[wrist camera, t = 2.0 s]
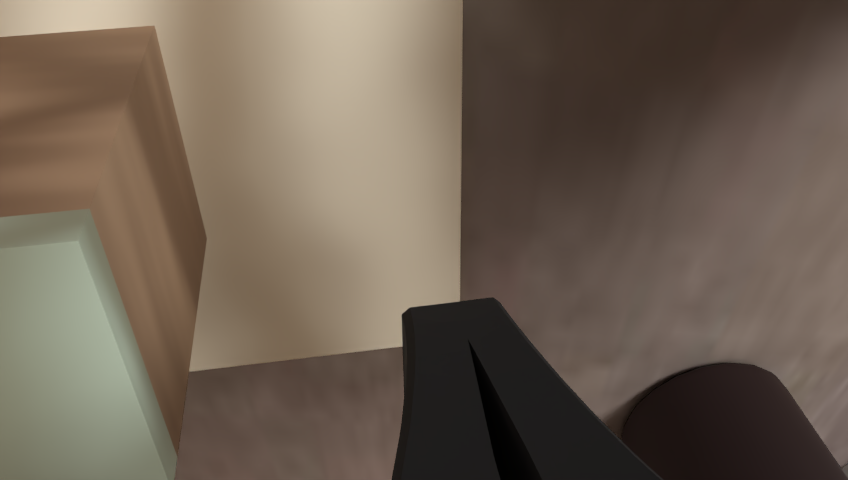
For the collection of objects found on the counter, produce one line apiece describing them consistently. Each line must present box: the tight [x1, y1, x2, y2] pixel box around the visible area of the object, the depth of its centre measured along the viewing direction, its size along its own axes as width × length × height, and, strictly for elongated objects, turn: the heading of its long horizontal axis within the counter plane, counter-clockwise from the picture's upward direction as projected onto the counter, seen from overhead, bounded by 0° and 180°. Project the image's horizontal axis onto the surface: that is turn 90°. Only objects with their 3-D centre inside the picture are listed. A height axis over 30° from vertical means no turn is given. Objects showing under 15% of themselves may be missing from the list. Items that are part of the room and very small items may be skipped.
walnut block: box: [0, 26, 207, 480], centre depth 16 cm, size 4×6×8 cm, turn 2°
